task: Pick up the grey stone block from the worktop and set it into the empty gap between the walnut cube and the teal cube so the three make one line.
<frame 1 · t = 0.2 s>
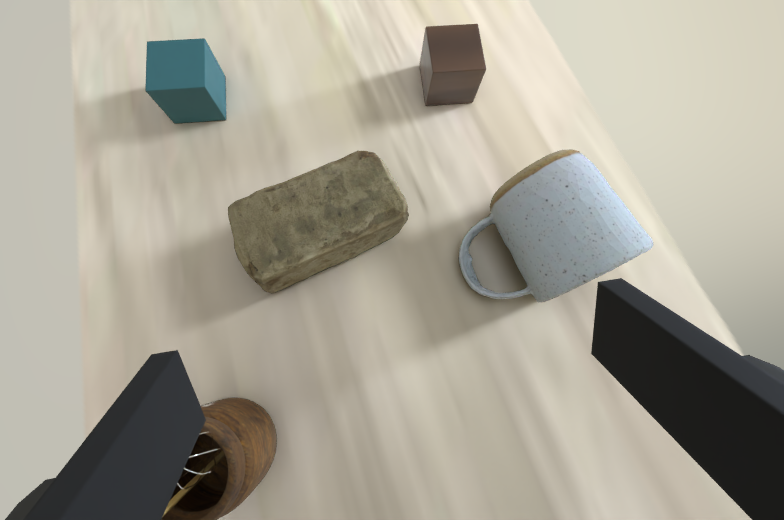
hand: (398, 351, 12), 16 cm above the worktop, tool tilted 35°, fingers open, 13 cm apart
walnut block: (445, 83, 32), on the worktop
utensil holder: (233, 444, 26), on the worktop
teal block: (200, 99, 31), on the worktop
ceramic mug: (524, 252, 30), on the worktop
stone block: (324, 233, 29), on the worktop
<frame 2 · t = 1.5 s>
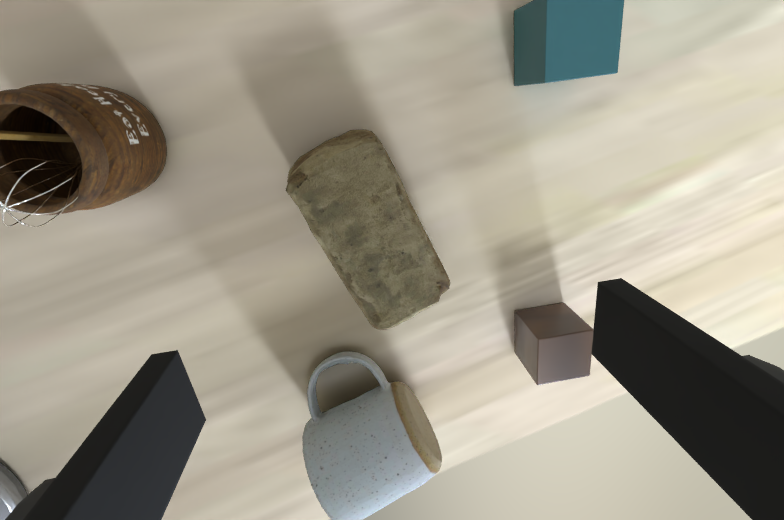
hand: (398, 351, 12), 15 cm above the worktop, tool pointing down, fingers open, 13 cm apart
walnut block: (538, 327, 31), on the worktop
utensil holder: (116, 140, 23), on the worktop
teal block: (546, 45, 23), on the worktop
ceramic mug: (360, 398, 32), on the worktop
stone block: (369, 218, 26), on the worktop
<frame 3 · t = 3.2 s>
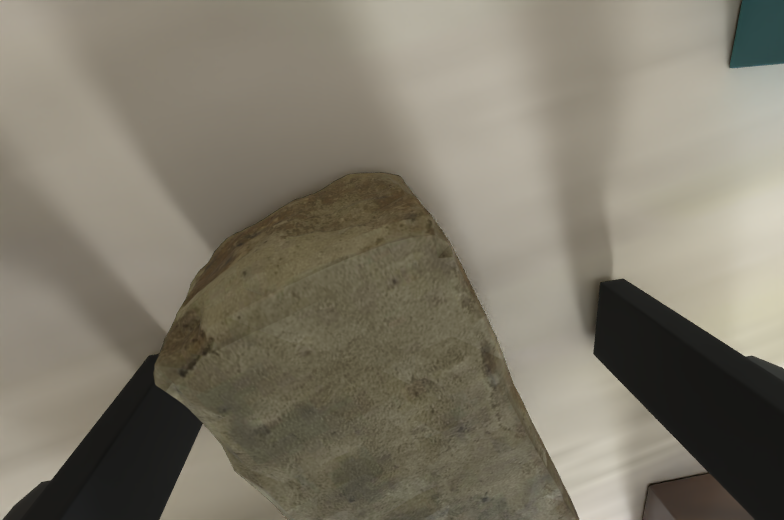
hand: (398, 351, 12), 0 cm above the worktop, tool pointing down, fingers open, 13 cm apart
walnut block: (684, 506, 17), on the worktop
stone block: (389, 346, 13), on the worktop
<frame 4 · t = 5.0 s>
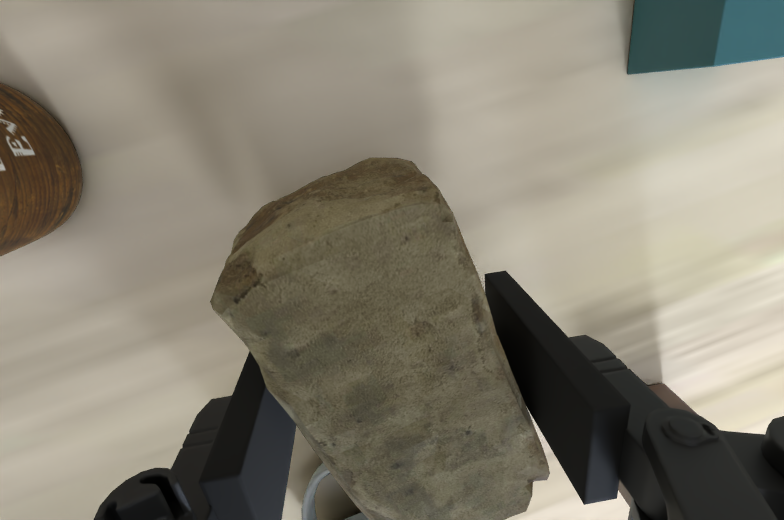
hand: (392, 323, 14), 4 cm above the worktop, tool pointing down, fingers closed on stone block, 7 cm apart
walnut block: (624, 415, 22), on the worktop
utensil holder: (3, 158, 15), on the worktop
teal block: (684, 8, 14), on the worktop
ceramic mug: (375, 502, 23), on the worktop
stone block: (392, 314, 14), point 3 cm above the worktop, touching gripper
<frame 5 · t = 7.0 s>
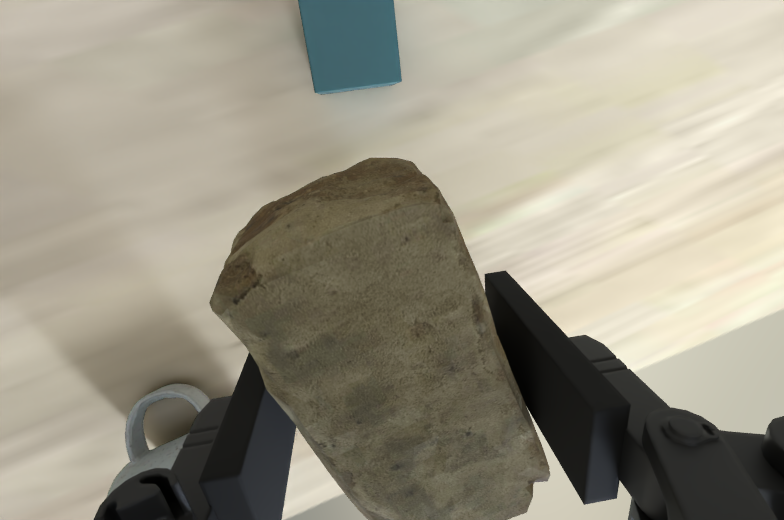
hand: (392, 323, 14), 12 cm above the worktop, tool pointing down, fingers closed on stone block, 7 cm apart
teal block: (350, 49, 21), on the worktop
ceramic mug: (204, 432, 29), on the worktop
stone block: (392, 314, 14), point 11 cm above the worktop, touching gripper
when the fingers open (1 cm above the worktop, at t = 9.2 s): stone block stays where it is, on the worktop.
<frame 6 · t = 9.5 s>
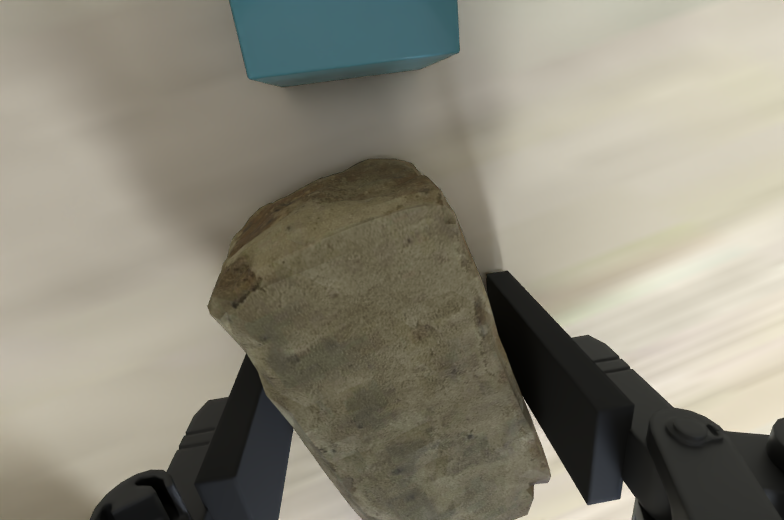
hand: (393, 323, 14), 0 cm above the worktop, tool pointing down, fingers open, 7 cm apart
stone block: (390, 316, 14), on the worktop
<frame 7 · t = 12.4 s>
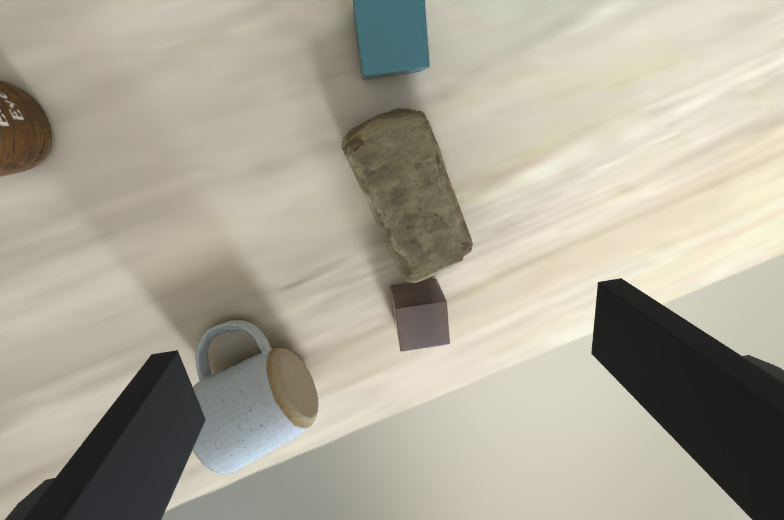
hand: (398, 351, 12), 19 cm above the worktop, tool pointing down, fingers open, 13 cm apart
walnut block: (415, 302, 34), on the worktop
utensil holder: (7, 124, 26), on the worktop
teal block: (387, 42, 26), on the worktop
ceramic mug: (255, 364, 35), on the worktop
stone block: (404, 188, 30), on the worktop
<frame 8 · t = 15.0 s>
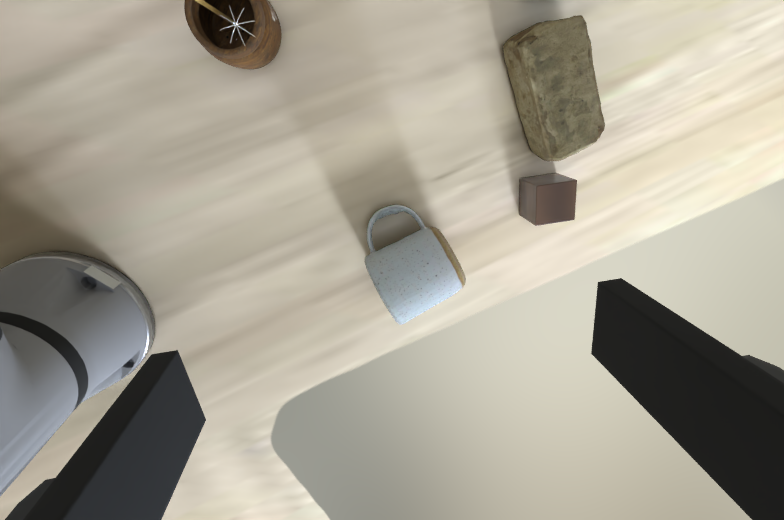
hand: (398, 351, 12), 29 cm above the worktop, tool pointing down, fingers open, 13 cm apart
walnut block: (537, 194, 41), on the worktop
utensil holder: (246, 31, 33), on the worktop
ceramic mug: (402, 249, 42), on the worktop
stone block: (540, 92, 37), on the worktop
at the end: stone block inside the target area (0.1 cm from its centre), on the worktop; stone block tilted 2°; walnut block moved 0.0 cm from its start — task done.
